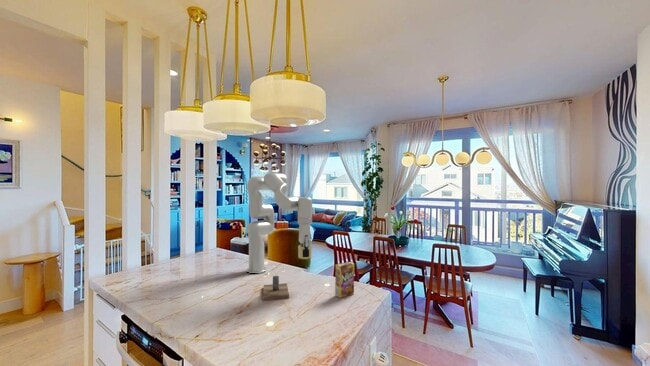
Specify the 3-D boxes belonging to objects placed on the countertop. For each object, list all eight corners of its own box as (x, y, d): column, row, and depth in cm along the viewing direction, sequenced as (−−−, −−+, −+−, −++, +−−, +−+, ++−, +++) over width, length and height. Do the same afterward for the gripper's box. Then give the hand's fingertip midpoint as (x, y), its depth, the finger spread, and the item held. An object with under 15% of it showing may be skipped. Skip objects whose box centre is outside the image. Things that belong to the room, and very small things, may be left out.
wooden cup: (297, 256, 138) (297, 244, 138) (310, 255, 139) (310, 244, 139) (299, 259, 131) (299, 247, 131) (312, 258, 133) (312, 246, 133)
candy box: (340, 298, 123) (340, 266, 123) (334, 295, 126) (334, 263, 127) (354, 294, 127) (354, 263, 128) (349, 291, 131) (349, 261, 131)
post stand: (263, 287, 136) (263, 272, 136) (286, 286, 139) (286, 270, 139) (263, 300, 120) (263, 283, 121) (289, 298, 123) (289, 281, 123)
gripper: (296, 219, 143) (295, 251, 143) (299, 223, 126) (299, 260, 126) (309, 218, 145) (309, 251, 144) (314, 222, 128) (314, 259, 128)
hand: (304, 254), depth 135 cm, fingers closed on wooden cup, 6 cm apart
